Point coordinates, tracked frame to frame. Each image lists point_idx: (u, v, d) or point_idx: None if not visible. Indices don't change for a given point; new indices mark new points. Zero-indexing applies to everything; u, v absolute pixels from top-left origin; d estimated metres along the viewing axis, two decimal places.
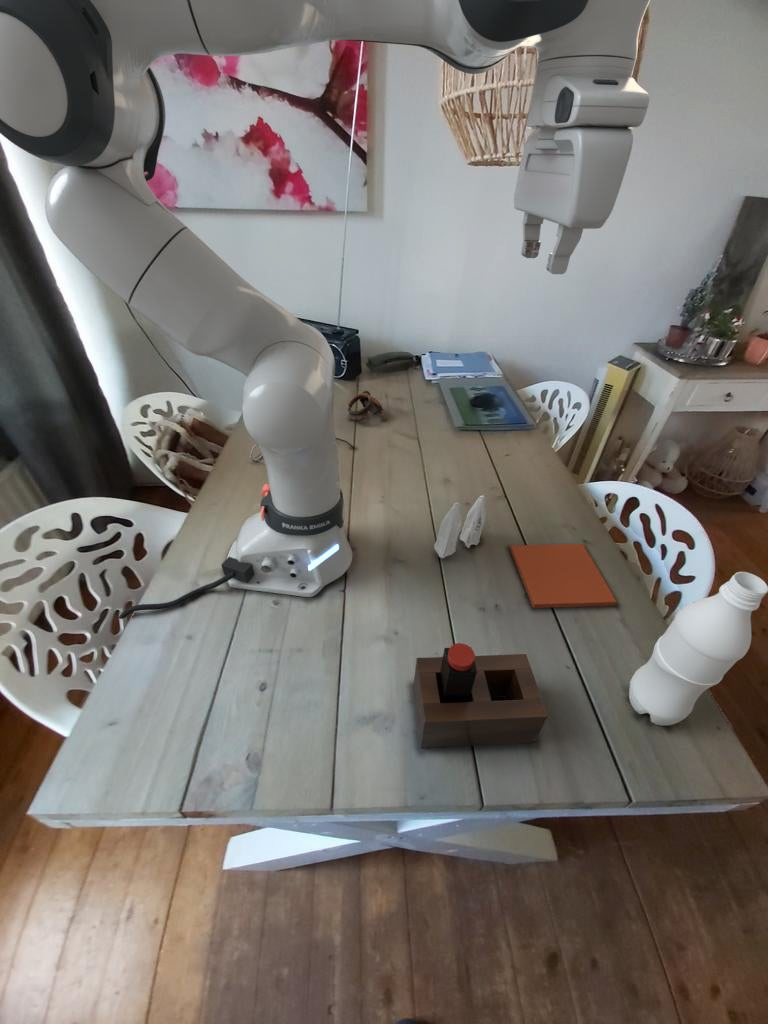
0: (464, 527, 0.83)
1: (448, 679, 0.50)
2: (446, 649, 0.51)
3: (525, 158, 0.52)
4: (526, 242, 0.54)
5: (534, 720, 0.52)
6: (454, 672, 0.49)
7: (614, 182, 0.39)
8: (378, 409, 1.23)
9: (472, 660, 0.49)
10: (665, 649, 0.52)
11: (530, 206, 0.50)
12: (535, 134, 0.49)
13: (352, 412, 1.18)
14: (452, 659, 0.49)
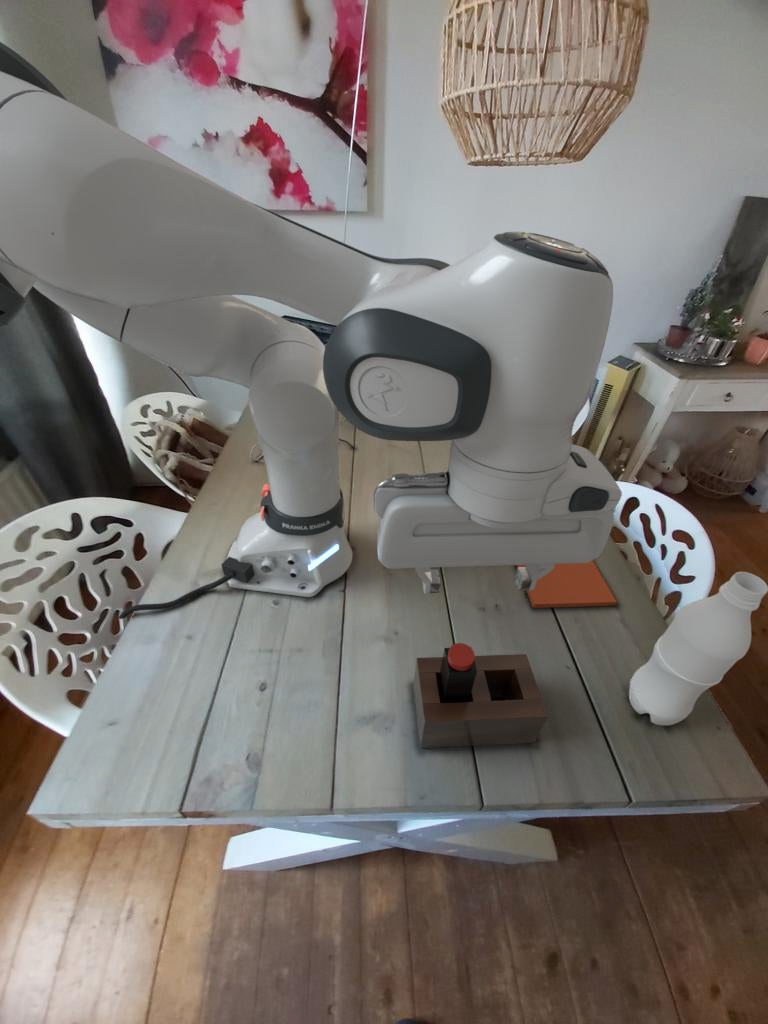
0: None
1: (448, 679, 0.50)
2: (446, 649, 0.51)
3: (408, 527, 0.36)
4: (437, 583, 0.42)
5: (534, 720, 0.52)
6: (454, 672, 0.49)
7: None
8: None
9: (472, 660, 0.49)
10: (665, 649, 0.52)
11: (463, 562, 0.39)
12: (433, 506, 0.35)
13: None
14: (452, 659, 0.49)
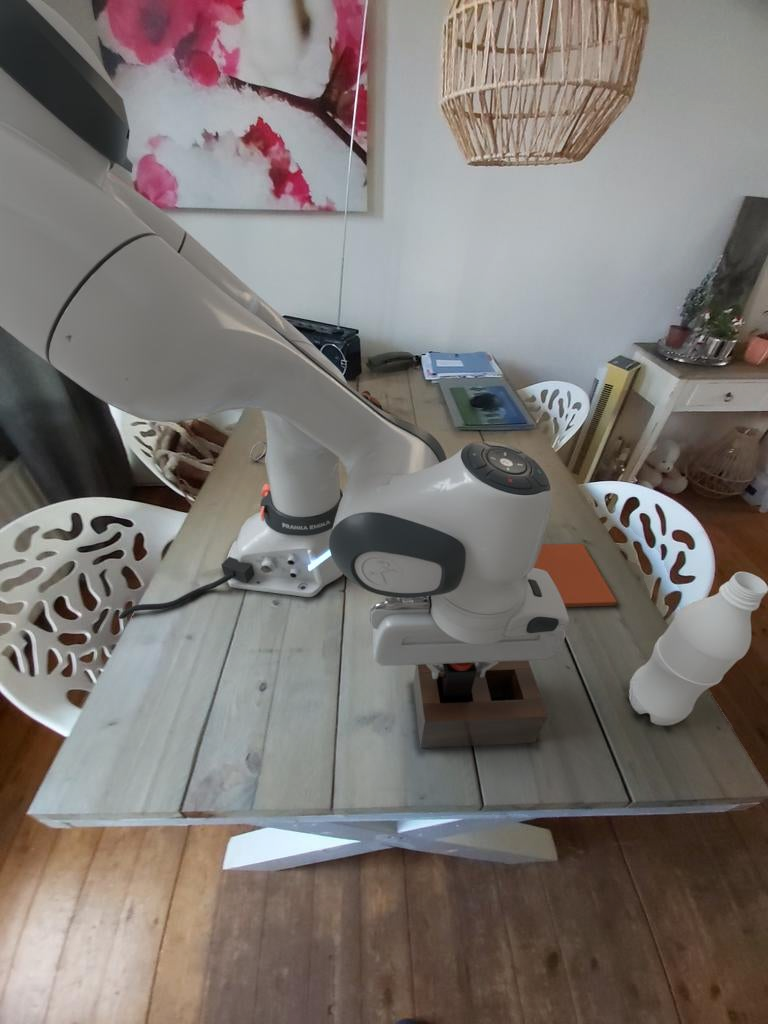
0: None
1: (448, 679, 0.50)
2: None
3: (398, 639, 0.44)
4: (444, 672, 0.50)
5: (534, 720, 0.52)
6: (453, 672, 0.49)
7: None
8: None
9: None
10: (665, 649, 0.52)
11: (443, 661, 0.47)
12: (418, 625, 0.43)
13: None
14: None
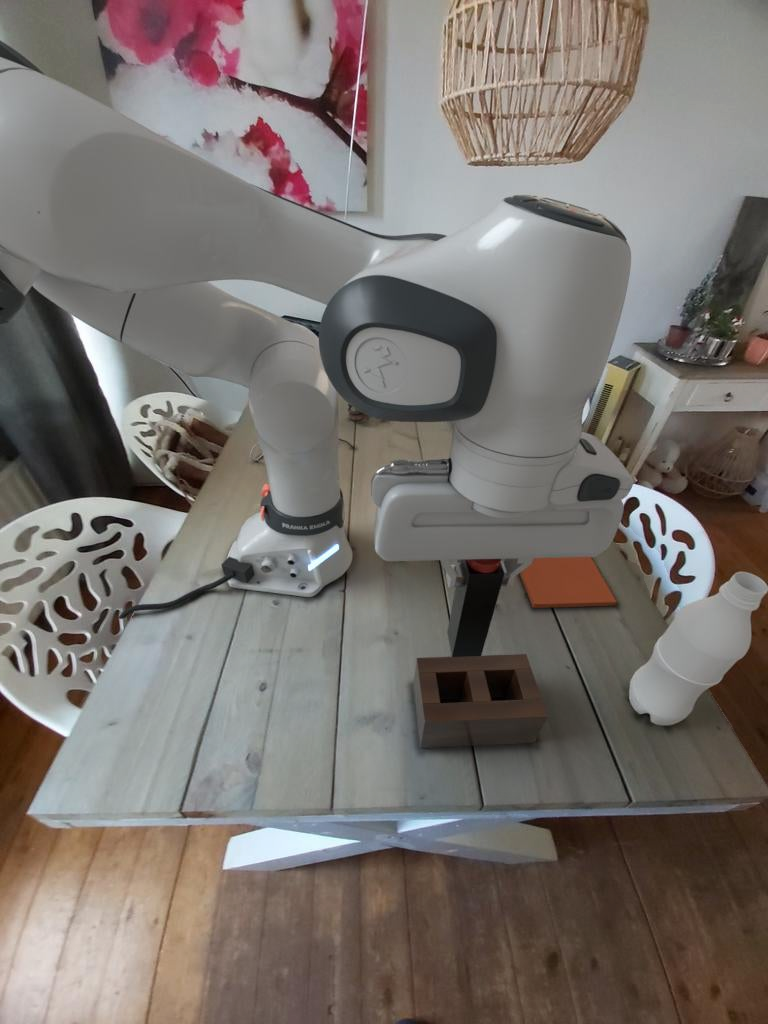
0: None
1: (468, 585, 0.40)
2: None
3: (408, 517, 0.34)
4: (463, 577, 0.40)
5: (534, 720, 0.52)
6: (475, 574, 0.39)
7: None
8: None
9: (498, 559, 0.39)
10: (665, 649, 0.52)
11: (464, 555, 0.37)
12: (434, 495, 0.33)
13: (352, 412, 1.18)
14: None
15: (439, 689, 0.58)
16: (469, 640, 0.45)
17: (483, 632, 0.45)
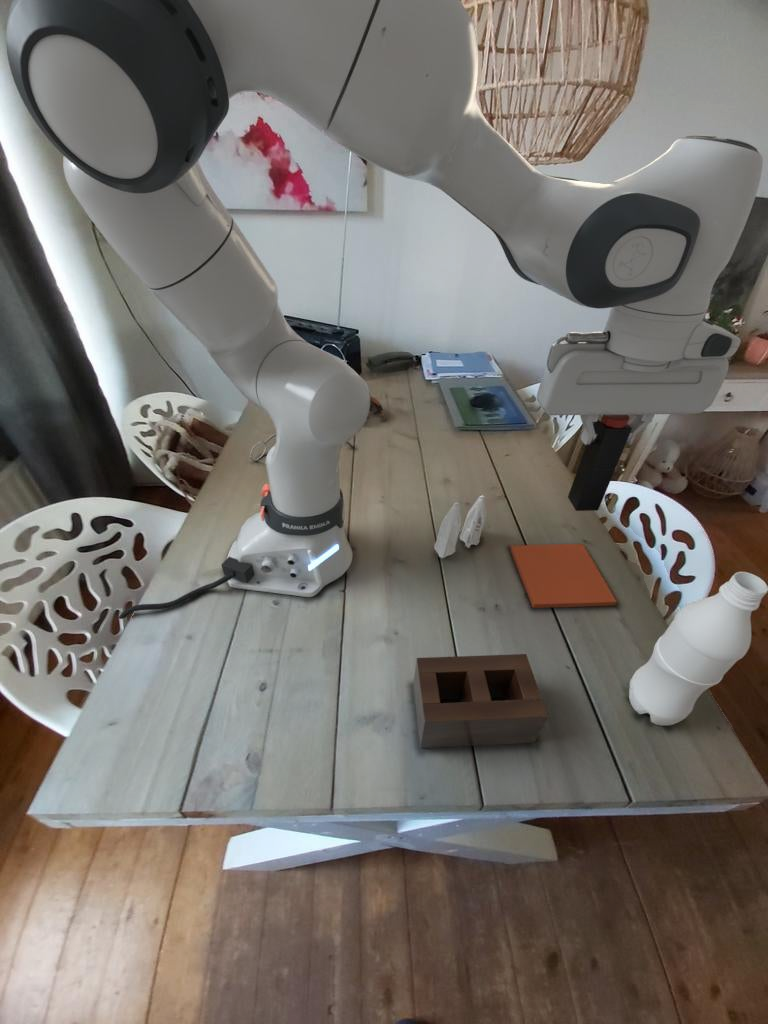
0: (464, 527, 0.83)
1: (603, 439, 0.55)
2: None
3: (575, 375, 0.49)
4: (598, 434, 0.55)
5: (534, 720, 0.52)
6: (611, 428, 0.54)
7: None
8: (378, 409, 1.23)
9: (628, 418, 0.54)
10: (665, 649, 0.52)
11: (607, 410, 0.52)
12: (597, 356, 0.48)
13: None
14: (609, 417, 0.54)
15: (439, 689, 0.58)
16: (592, 493, 0.60)
17: (604, 486, 0.59)
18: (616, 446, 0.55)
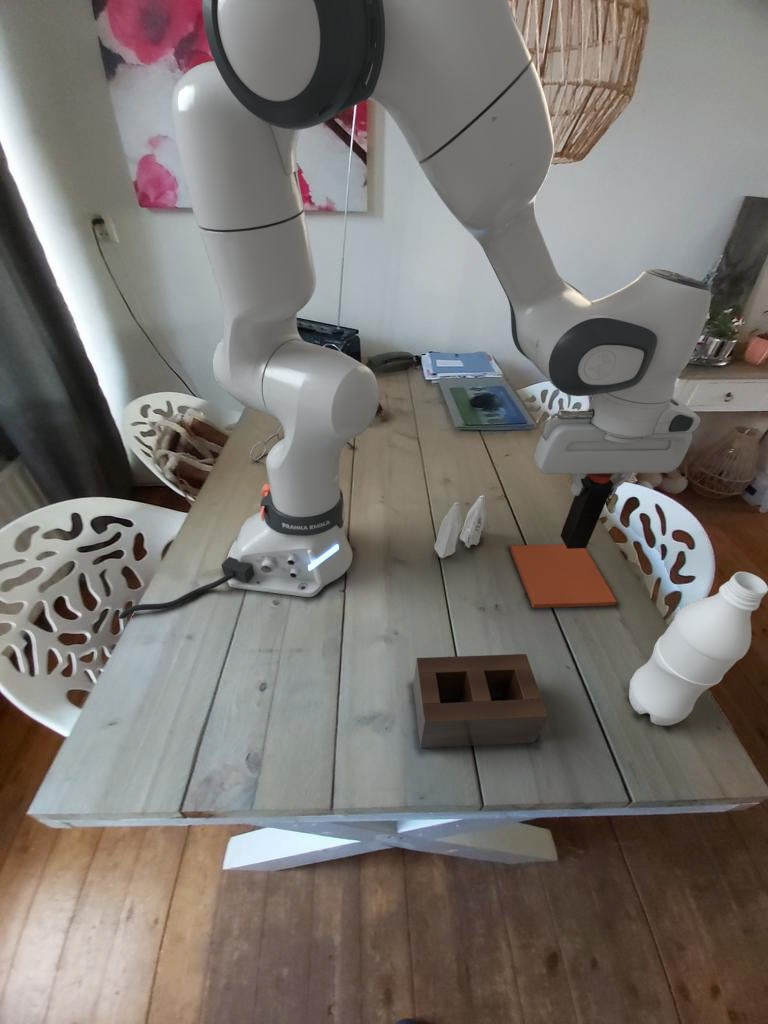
0: (464, 527, 0.83)
1: (589, 492, 0.65)
2: None
3: (566, 444, 0.59)
4: (586, 487, 0.65)
5: (534, 720, 0.52)
6: (596, 484, 0.64)
7: None
8: (378, 409, 1.23)
9: (610, 475, 0.64)
10: (665, 649, 0.52)
11: (592, 470, 0.62)
12: (584, 429, 0.58)
13: None
14: (595, 474, 0.64)
15: (439, 689, 0.58)
16: (581, 535, 0.70)
17: (591, 528, 0.69)
18: (600, 497, 0.65)
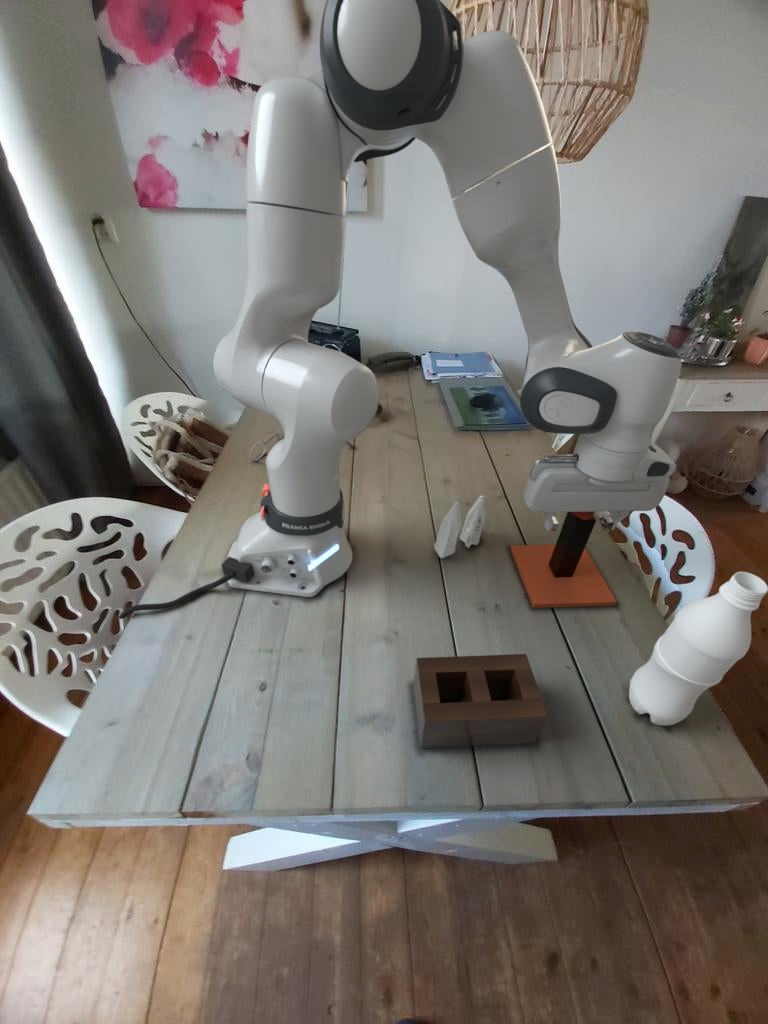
0: (464, 527, 0.83)
1: (574, 528, 0.69)
2: None
3: (552, 486, 0.63)
4: (557, 524, 0.69)
5: (534, 720, 0.52)
6: (580, 520, 0.69)
7: None
8: (378, 409, 1.23)
9: (593, 512, 0.69)
10: (665, 649, 0.52)
11: (577, 508, 0.66)
12: (568, 473, 0.62)
13: None
14: None
15: (439, 689, 0.58)
16: (567, 565, 0.75)
17: (577, 559, 0.74)
18: (585, 532, 0.70)
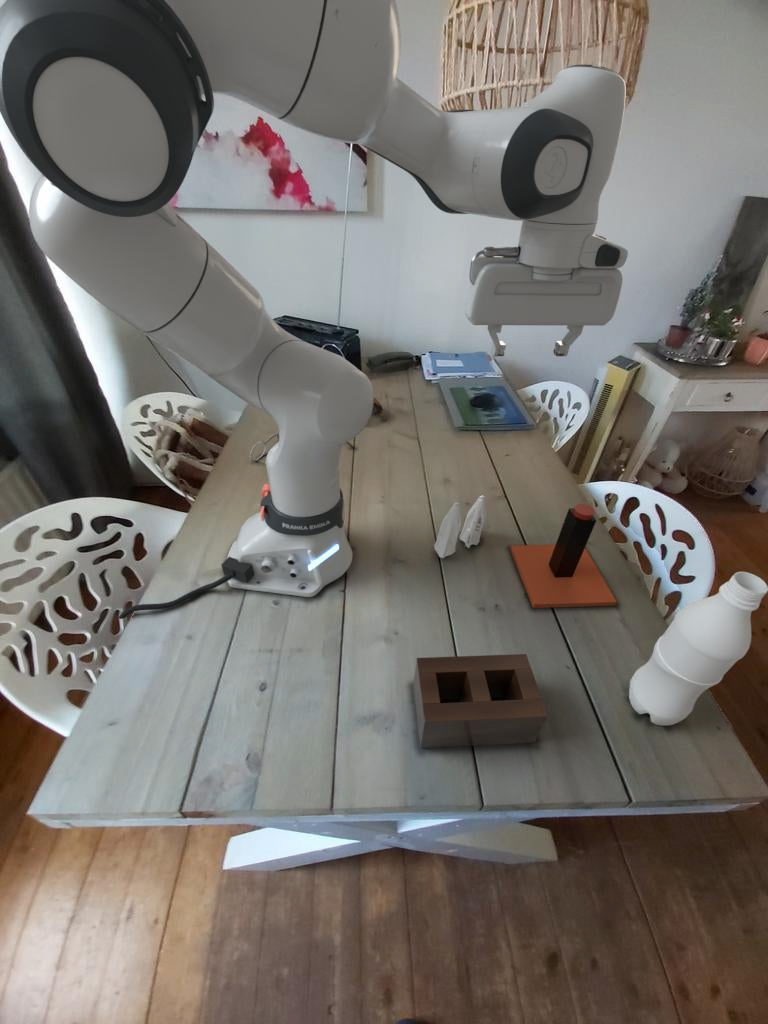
0: (464, 527, 0.83)
1: (574, 528, 0.69)
2: (570, 509, 0.71)
3: (492, 285, 0.57)
4: (504, 345, 0.63)
5: (534, 720, 0.52)
6: (580, 520, 0.69)
7: None
8: (378, 409, 1.23)
9: (593, 512, 0.69)
10: (665, 649, 0.52)
11: (524, 320, 0.60)
12: (509, 267, 0.56)
13: None
14: (579, 511, 0.69)
15: (439, 689, 0.58)
16: (567, 565, 0.75)
17: (577, 559, 0.74)
18: (585, 532, 0.70)
